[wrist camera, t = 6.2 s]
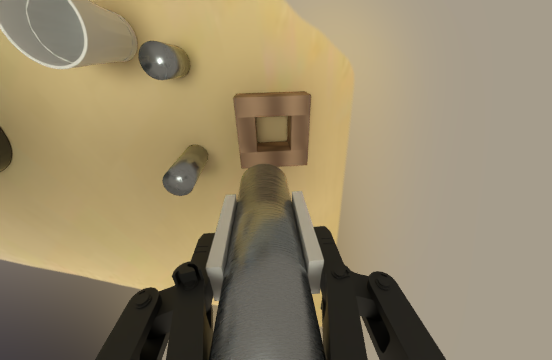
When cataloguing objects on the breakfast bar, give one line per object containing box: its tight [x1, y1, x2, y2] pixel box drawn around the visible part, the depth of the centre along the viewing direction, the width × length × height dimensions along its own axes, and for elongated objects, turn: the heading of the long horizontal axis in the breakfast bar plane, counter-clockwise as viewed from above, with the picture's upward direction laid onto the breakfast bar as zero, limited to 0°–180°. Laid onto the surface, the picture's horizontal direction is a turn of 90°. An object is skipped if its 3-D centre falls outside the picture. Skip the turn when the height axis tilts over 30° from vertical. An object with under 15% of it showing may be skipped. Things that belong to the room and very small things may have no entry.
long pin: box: [209, 164, 326, 360], centre depth 13 cm, size 4×4×16 cm
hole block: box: [233, 92, 311, 169], centre depth 37 cm, size 12×12×5 cm
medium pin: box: [163, 145, 208, 196], centre depth 36 cm, size 4×4×11 cm
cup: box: [0, 0, 137, 69], centre depth 26 cm, size 8×8×12 cm
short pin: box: [139, 41, 190, 80], centre depth 30 cm, size 4×4×7 cm
